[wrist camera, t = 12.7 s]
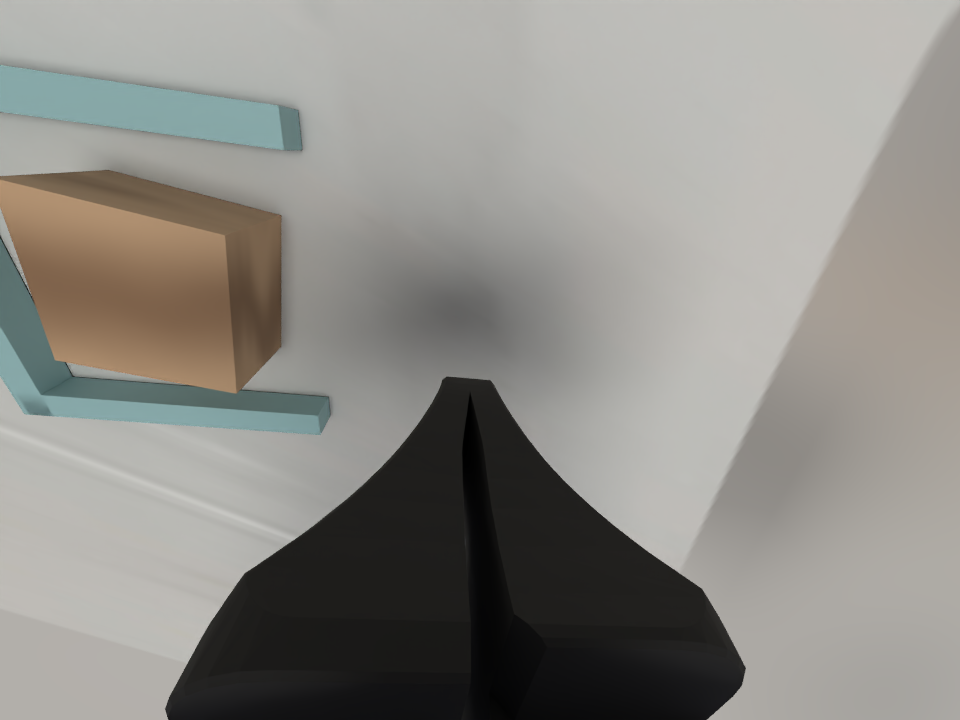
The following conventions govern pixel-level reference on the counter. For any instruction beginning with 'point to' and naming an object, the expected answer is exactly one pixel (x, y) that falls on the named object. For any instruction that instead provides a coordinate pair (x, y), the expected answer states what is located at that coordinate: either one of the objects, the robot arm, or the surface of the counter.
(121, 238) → the walnut block
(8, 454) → the counter surface
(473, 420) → the robot arm
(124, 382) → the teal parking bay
